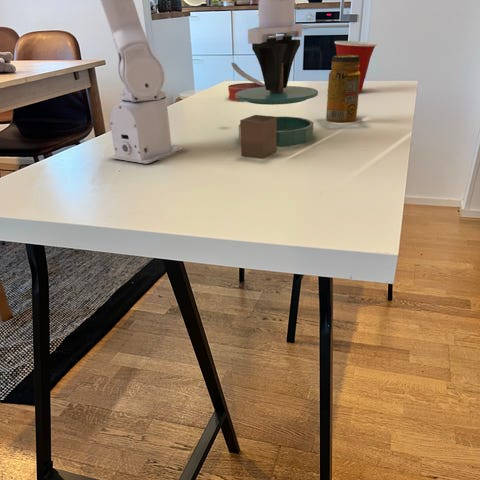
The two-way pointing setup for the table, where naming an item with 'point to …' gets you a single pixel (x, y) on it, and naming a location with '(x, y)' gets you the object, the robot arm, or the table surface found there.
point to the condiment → (343, 89)
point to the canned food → (242, 84)
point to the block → (258, 136)
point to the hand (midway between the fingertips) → (276, 89)
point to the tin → (292, 131)
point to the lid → (277, 94)
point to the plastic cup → (360, 50)
